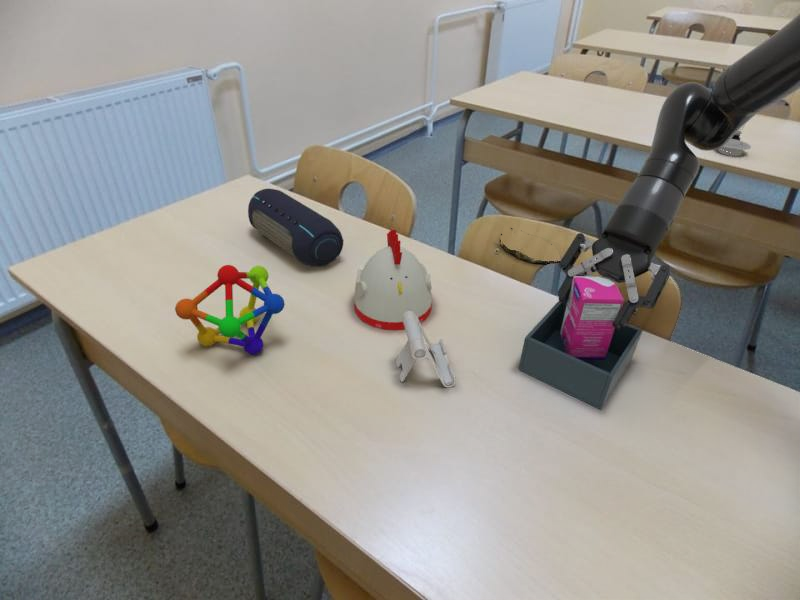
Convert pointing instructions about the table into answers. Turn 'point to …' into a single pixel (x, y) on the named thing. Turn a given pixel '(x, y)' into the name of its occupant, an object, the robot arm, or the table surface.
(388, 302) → the kitchen timer
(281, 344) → the table surface
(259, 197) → the portable speaker
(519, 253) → the dark brown curved strip
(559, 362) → the bin
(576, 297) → the supplement box
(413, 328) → the tablet stand
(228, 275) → the educational toy
